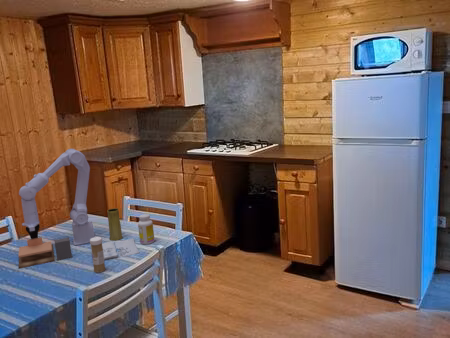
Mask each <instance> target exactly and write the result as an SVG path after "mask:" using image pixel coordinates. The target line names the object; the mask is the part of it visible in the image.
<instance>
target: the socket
mask: <svg viewBox="0 0 450 338" xmlns="http://www.w3.org/2000/svg"><path fill="white" fill-rule="evenodd" d="M51 245H52V251H50V252H45V253H40V254H35V255H30V256H25V257H20V258H19V257H18V269H24V268H28V267H33V266H38V265H42V264H49V263H52V262H55V250H54V244H53V243H51Z"/></svg>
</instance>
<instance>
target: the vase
mask: <svg viewBox="0 0 450 338" xmlns="http://www.w3.org/2000/svg"><path fill="white" fill-rule="evenodd" d="M106 211H107V220H108V221H107V223H108V229H109V230H108V231H109V240H110V241H111V242H112V241H113V242H117V241H121V239H123V238H124V237H123V232H122V225H121V219H120V211H119V208H116V207H115V208H109V209H107V210H106Z"/></svg>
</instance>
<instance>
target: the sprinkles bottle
mask: <svg viewBox="0 0 450 338" xmlns="http://www.w3.org/2000/svg"><path fill="white" fill-rule="evenodd" d="M102 243H103V239H102V237H100V236H95V237H94V238H91V239H90V243H89V245H90V249H92V253H91V259H92V265H93V272H94V273H96V274H97V273H102V272H105V270H106V265H105V260H104V254H103V247H102Z"/></svg>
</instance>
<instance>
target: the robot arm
mask: <svg viewBox="0 0 450 338" xmlns="http://www.w3.org/2000/svg"><path fill="white" fill-rule="evenodd" d="M71 164H72V165H73V166H74V167H75V168H76V169H77V178H76V188H75V195H74V196H75V197H74V203H73V205H72V209H71V210H70V213H69V216H70V217H69V218H70V219H71V220H72V222H71V227H72V234H73V236H72V237H73V239H72V242H73V246H79V245H83V244H88V243H89V244H90V239H91V238H94V237H96V234H95V231H94V228H95V227H94V223H93V221H89V215H88V208H87V198H88V197H87V196H88V190H89V189H88V188H89V181H90V180H89V179H90V171H91V166H90V164H89V162H88V160H87V158H86V155H85V154H83V152H81V151H79V150H76V148H68V149H67V150H65V152H63V153H61V154H60V155H59V157H57V158H56V160H54V161H53V163H51V165H49V167H47V168H46V169H45V170H44V172H38V173H37V174H36V173H35V174H34V175H33V178H32V179H31V180H30V181H28V182H25V185H23V186H21V187H20V189H19V191H18V195H19V196H20V197H21V200H20V201H21V207H22V214H23V220H24V222H22V223H21V225H22V226H23V227H24V226H25V231H26V232H27V234H28V235H29V237H30V238H29V239H34V238H39V231H40V220H39V219H40V218H39V213H38V207H37V201H36V196H37V193H39V192H40V190H42V189H43V188H44V187H45V186H46V185H47V184H48V183H49V182H50V181H49V179H50V177H52V176H53V175H54V174H55V173H57V172H58V171H59V170H60V169H61V168H63V167H67V166H70V165H71Z"/></svg>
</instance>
